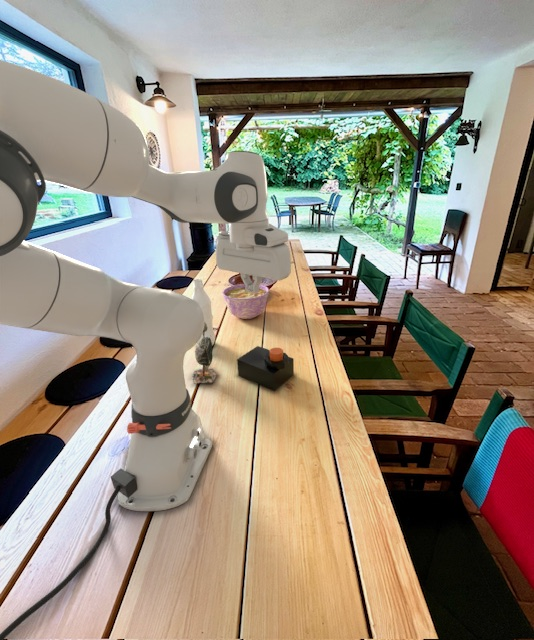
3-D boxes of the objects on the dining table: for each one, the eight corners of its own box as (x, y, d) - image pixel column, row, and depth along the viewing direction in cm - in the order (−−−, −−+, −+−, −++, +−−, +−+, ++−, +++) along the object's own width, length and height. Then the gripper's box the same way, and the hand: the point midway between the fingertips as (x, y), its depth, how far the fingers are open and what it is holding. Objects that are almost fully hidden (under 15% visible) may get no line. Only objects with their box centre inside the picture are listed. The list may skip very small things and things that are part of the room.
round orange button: (286, 357, 94) (285, 349, 93) (278, 363, 91) (277, 355, 90) (275, 353, 97) (274, 346, 95) (266, 359, 94) (266, 351, 93)
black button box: (295, 375, 99) (295, 353, 95) (276, 392, 92) (275, 368, 88) (258, 361, 107) (257, 340, 104) (238, 375, 100) (236, 353, 97)
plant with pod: (222, 366, 105) (216, 310, 97) (212, 387, 95) (204, 326, 87) (198, 365, 106) (190, 309, 98) (186, 385, 96) (175, 325, 88)
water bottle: (212, 350, 115) (203, 283, 105) (193, 349, 116) (183, 283, 106) (218, 341, 121) (211, 277, 111) (200, 339, 123) (192, 276, 112)
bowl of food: (218, 323, 136) (215, 297, 131) (233, 305, 154) (231, 282, 149) (263, 326, 131) (262, 300, 126) (274, 308, 149) (273, 284, 144)
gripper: (206, 232, 76) (213, 287, 81) (277, 239, 64) (278, 304, 70) (225, 228, 80) (230, 281, 86) (294, 234, 68) (294, 295, 74)
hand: (252, 291), depth 78 cm, fingers closed
